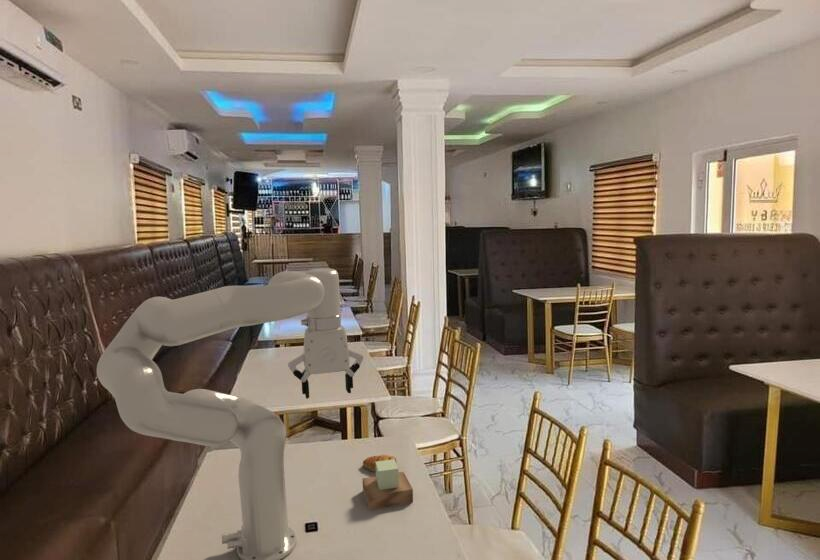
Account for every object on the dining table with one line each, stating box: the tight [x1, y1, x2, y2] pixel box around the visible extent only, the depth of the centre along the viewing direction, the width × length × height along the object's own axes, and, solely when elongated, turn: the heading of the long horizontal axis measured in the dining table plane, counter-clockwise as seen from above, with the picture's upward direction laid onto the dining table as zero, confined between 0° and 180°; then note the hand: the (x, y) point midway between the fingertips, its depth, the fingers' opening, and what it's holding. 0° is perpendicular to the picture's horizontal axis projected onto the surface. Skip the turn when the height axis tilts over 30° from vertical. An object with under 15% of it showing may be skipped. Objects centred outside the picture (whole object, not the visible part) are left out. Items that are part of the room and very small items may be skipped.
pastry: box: [362, 454, 398, 473], centre depth 152 cm, size 9×7×4 cm
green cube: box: [375, 459, 399, 490], centre depth 137 cm, size 5×5×5 cm
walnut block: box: [362, 471, 414, 511], centre depth 137 cm, size 11×9×4 cm
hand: (328, 393), depth 126 cm, fingers open, 9 cm apart
